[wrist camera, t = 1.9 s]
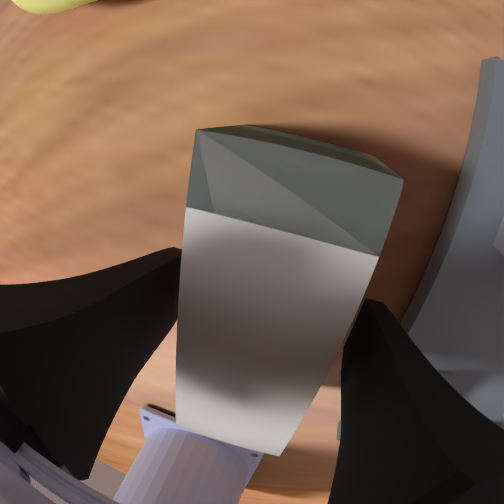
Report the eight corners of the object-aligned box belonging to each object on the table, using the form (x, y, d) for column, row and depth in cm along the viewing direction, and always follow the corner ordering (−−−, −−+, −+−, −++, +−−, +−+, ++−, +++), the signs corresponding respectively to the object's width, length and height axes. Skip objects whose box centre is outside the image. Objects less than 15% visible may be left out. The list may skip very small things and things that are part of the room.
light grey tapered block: (294, 382, 13) (279, 456, 9) (209, 358, 14) (176, 425, 10) (373, 155, 9) (405, 180, 5) (246, 124, 9) (195, 129, 6)
